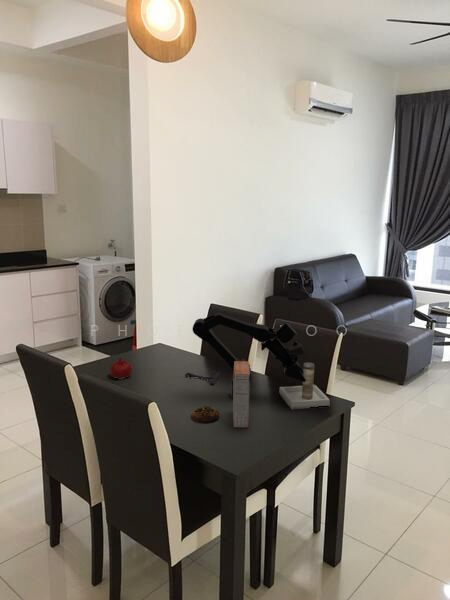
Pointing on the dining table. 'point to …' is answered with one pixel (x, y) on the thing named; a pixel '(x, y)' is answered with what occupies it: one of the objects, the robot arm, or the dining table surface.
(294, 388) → the tray
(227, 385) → the dining table surface
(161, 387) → the dining table surface
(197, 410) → the bread roll
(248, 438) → the dining table surface
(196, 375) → the dark grey t-shape
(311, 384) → the handle post
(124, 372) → the pomegranate
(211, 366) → the dining table surface
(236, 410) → the cracker box
